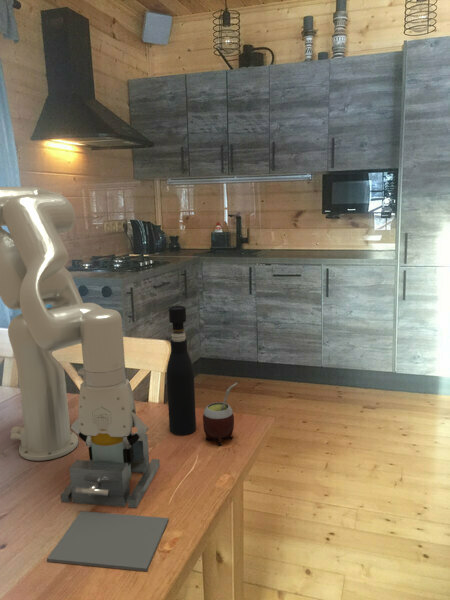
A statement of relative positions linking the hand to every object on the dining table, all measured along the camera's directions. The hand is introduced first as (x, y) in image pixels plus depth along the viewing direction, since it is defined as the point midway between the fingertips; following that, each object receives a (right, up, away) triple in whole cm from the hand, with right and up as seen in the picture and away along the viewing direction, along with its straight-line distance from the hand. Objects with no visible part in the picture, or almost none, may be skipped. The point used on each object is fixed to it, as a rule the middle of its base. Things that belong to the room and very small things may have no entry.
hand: (112, 462), depth 97 cm
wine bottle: (+12, 0, +23) cm, 26 cm away
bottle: (0, -4, +1) cm, 5 cm away
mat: (+3, -7, -15) cm, 18 cm away
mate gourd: (+21, -1, +17) cm, 27 cm away
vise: (0, -5, 0) cm, 4 cm away
